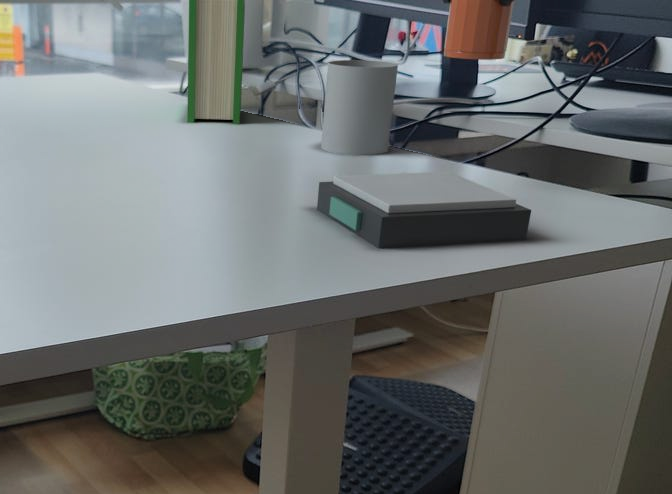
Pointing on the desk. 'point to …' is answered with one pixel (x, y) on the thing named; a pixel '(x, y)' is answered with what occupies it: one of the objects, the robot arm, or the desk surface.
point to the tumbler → (477, 29)
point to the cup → (358, 106)
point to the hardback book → (215, 59)
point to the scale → (421, 210)
